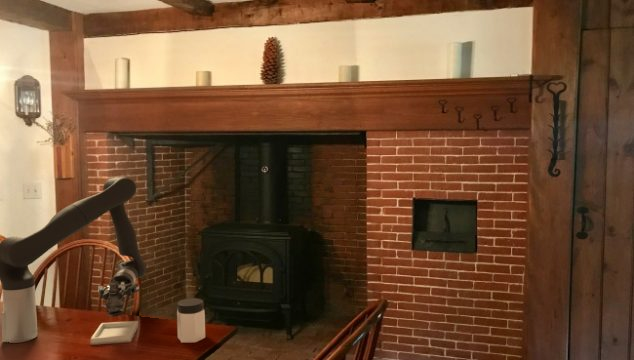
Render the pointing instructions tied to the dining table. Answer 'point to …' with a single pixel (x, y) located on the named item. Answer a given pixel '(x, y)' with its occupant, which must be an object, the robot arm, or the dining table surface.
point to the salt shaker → (114, 300)
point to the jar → (191, 320)
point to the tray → (114, 332)
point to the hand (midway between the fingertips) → (112, 297)
